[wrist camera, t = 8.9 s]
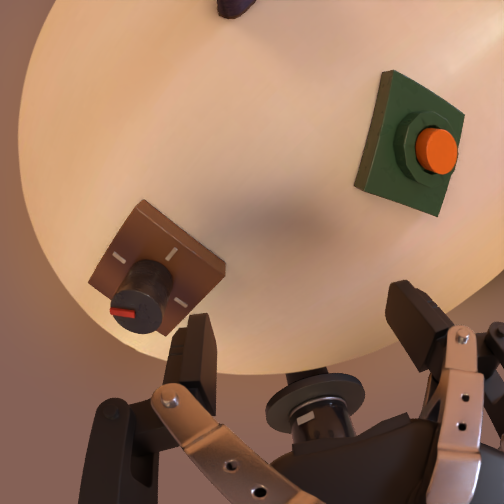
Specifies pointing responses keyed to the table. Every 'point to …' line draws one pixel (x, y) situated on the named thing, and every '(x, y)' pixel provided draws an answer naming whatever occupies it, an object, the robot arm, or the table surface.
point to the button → (436, 150)
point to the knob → (142, 297)
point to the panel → (164, 252)
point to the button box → (406, 144)
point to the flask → (233, 7)
